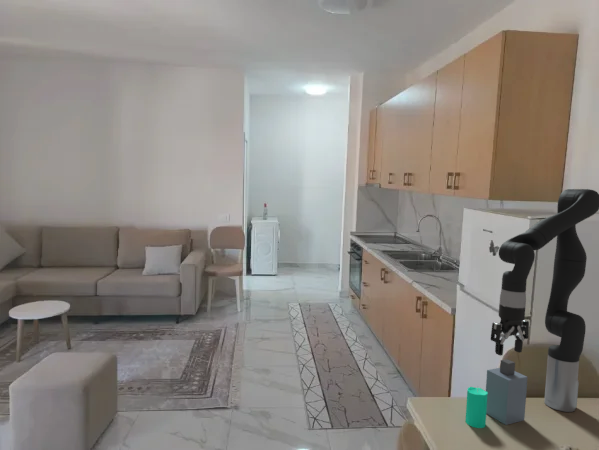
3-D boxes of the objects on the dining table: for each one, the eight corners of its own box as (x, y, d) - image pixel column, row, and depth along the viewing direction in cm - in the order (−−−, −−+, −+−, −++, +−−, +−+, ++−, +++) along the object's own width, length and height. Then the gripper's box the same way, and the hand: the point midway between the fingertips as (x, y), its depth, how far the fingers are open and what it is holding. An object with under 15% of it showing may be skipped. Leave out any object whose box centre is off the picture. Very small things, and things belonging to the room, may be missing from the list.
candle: (487, 429, 130) (490, 391, 129) (467, 426, 131) (469, 389, 130) (483, 419, 136) (485, 383, 135) (463, 417, 137) (465, 381, 136)
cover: (502, 407, 144) (506, 355, 143) (524, 420, 136) (528, 364, 135) (484, 412, 141) (487, 358, 139) (505, 424, 133) (509, 368, 132)
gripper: (517, 300, 142) (514, 347, 143) (486, 302, 137) (483, 351, 138) (538, 305, 136) (534, 355, 137) (506, 308, 130) (502, 359, 131)
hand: (508, 353), depth 137 cm, fingers open, 8 cm apart
